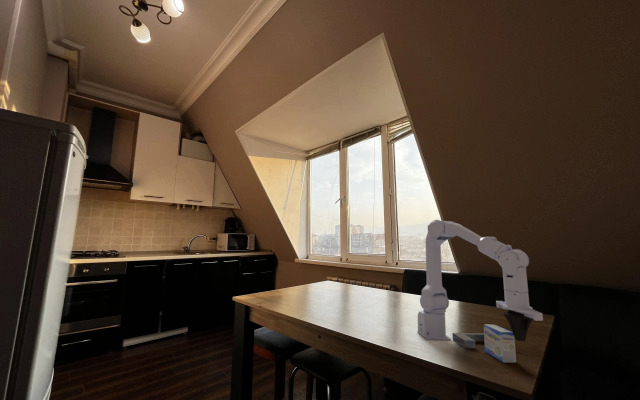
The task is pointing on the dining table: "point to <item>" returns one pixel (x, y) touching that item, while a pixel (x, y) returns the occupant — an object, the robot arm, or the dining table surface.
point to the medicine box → (499, 343)
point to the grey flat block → (468, 339)
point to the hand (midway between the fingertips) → (520, 340)
